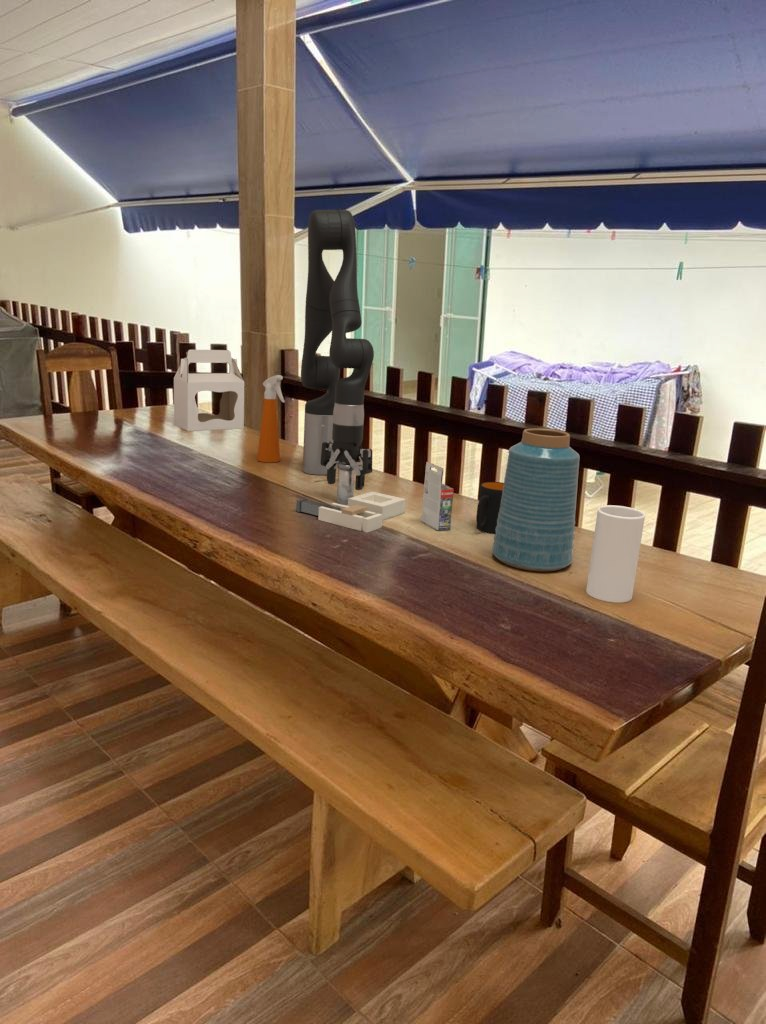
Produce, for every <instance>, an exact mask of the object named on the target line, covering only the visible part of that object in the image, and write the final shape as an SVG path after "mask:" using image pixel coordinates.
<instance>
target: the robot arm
mask: <svg viewBox="0 0 766 1024" xmlns="http://www.w3.org/2000/svg"><path fill="white" fill-rule="evenodd" d="M307 223H308V225H307V248H308V249H307V251H308V253H307V254H308V255H307V259H308V261H307V263H308V267H307V281H306V282H307V283H306V295H305V308H304V309H305V310H304V312H305V313H304V338H303V339H304V340H303V348H302V359H301V366H300V367H301V368H300V381H301V385H302V386H303V387H304V388H306V389H317V390H326V392H325V394H323V395H322V396H319V397H317V398H313V399H311V400H308V401H306V402H305V404H304V419H303V421H304V423H303V424H304V427H303V450H302V451H303V453H302V472H303V473H306V474H308V475H309V474H311V475H317V476H318V475H320V476H323V475H325V476H326V481H327V484H328V485H334V484H335V483H336V479H337V478H336V477H337V464H338V462H341V463H342V462H344V463H346V464H350V465H351V467H352V468H354V470H355V471H354V473H355V474H356V475H355V483H354V485H355V486H354V489H355V491H362V490H363V489H364V488H365V478H366V475H368V474H372V473H373V449H372V448H367V449H366V448H363V447H362V443H363V440H364V421H365V408H364V407H365V406H364V405H365V403H364V401H365V387H366V383H367V380H368V378H369V373H370V371H371V367H372V365H373V363H374V362H373V361H374V357H375V351H374V347H373V344H372V343H371V342H370V340H368V339H365V338H347V333H353V332H355V331H357V330H359V329H361V326H362V314H361V308H360V300H359V294H358V280H357V279H358V278H357V277H358V273H357V272H358V271H357V270H358V269H357V268H358V267H357V266H358V265H357V263H358V260H357V257H358V256H357V236H356V235H357V232H356V224H355V219H354V216H353V214H352V212H351V211H349V210H347V209H314V210H312V211H311V212H310V214H309V218H308V222H307ZM337 250H340V251H342V261H341V262H342V263H341V266H340V269H339V271H338V273H337V275H336V277H335V280H334V279H333V277H332V276H331V274H330V273H329V271H328V268H327V266H326V264H325V262H324V259H323V253H324V251H337ZM330 334H331V336H330V337H331V339H330V345H329V350H328V351H329V352H328V354H329V355H316V354H317V351H318V350H319V347H320V345H321V344H322V343H323V342H324V340H326V338H327V337H329V335H330ZM341 369H352V372H351V374H350V375H349V376H346V377H342V378H341V377H340V376H341V375H340V374H341Z"/></svg>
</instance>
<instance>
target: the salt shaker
mask: <svg viewBox="0 0 766 1024" xmlns="http://www.w3.org/2000/svg"><path fill="white" fill-rule="evenodd" d="M336 468H338V469H337V470H338V472H337V489H336V490H337V492H336V494H337V495H336V503H337V504H341V505H346V506H348V498H351V497H354V489H355V486H354V485H355V470H354V468H352V467H351V465H350V464H346V463H344V462H342V463H341V462H338V464H337V466H336Z"/></svg>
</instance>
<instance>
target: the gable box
mask: <svg viewBox="0 0 766 1024" xmlns="http://www.w3.org/2000/svg"><path fill="white" fill-rule="evenodd" d="M185 354H186V357H184V358H180V363H179V367H178V369H177V370H176V373H175V375H174V377H173V424H174V426H175V427H178V428H180V429H182V430H184V431H186V432H200V431H201V432H202V431H224V430H244V429H245V425H244V424H245V380H244V378H243V376H242V373H241V372H240V369H239V367H238V358H233V357H232V353H231V351H230V350H229V349H188V350H187V351H186V352H185ZM193 363H195V364H199V363H201V364H202V363H203V364H208V363H211V364H217V363H218V364H219V363H221V364H228V366H229V367H228V368H229V369H228V371H229V373H227V372H226V373H216V372H215V373H189V365H190V364H193ZM205 391H206V392H214V393H222V395H221V398H220V400H219V413H218V414H211V413H205V412H202V413H201V412H200V413H199V407H198V405H197V403H196V395H197V393H200V392H205Z"/></svg>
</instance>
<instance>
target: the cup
mask: <svg viewBox="0 0 766 1024" xmlns="http://www.w3.org/2000/svg"><path fill="white" fill-rule="evenodd" d="M645 519H646V513H645V512H644V511H642V510H639V509H636V508H633V507H628V506H624V505H612V504H608V505H601V506H599V507H598V508H597V512H596V519H595V524H594V525H595V527H594V532H593V533H594V535H593V539H592V540H593V541H592V546H591V547H592V549H591V556H590V562H589V569H588V577H587V583H586V584H587V585H586V589H585V590H586V594H587V595H588V596H590V597H592V598H594V599H596V600H598V601H602V602H607V603H615V604H617V603H619V604H621V603H627V602H628V603H629V602H630V601H631V600H632V598H633V595H634V587H635V581H636V575H637V569H638V564H639V563H638V562H639V556H640V550H641V544H642V543H641V542H642V537H643V532H644V531H643V530H644V524H645Z"/></svg>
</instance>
